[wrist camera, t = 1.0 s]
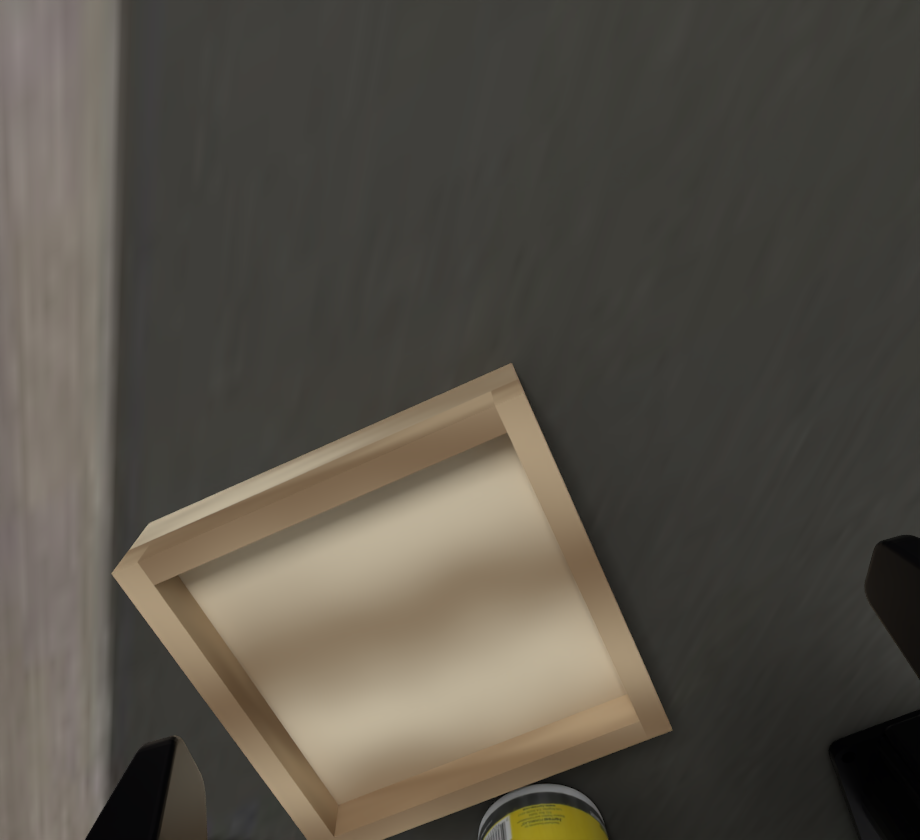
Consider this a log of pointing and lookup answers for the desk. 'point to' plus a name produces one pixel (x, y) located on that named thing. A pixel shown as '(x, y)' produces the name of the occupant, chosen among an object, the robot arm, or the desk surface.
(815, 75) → the desk surface
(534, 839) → the supplement bottle
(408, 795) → the wooden tray
